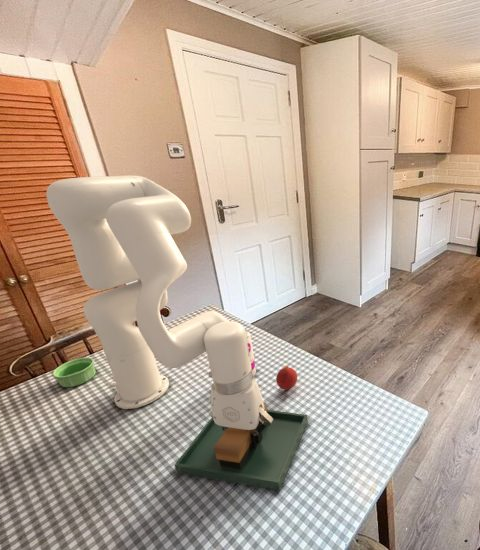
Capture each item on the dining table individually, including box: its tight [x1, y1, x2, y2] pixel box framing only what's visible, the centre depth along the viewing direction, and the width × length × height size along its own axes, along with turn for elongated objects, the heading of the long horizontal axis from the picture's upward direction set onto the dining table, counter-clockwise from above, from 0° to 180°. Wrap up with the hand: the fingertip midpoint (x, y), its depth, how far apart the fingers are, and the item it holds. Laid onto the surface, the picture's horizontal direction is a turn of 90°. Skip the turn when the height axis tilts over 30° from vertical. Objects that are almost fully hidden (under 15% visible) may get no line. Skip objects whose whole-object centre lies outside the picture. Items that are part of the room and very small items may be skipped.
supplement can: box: [244, 327, 257, 377], centre depth 90 cm, size 8×8×15 cm
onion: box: [275, 364, 298, 391], centre depth 86 cm, size 6×6×8 cm
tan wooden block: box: [214, 402, 268, 469], centre depth 69 cm, size 13×5×6 cm, turn 171°
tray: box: [174, 409, 309, 491], centre depth 70 cm, size 23×17×2 cm
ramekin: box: [52, 357, 97, 388], centre depth 90 cm, size 9×9×4 cm
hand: (245, 440), depth 70 cm, fingers closed on tan wooden block, 5 cm apart
